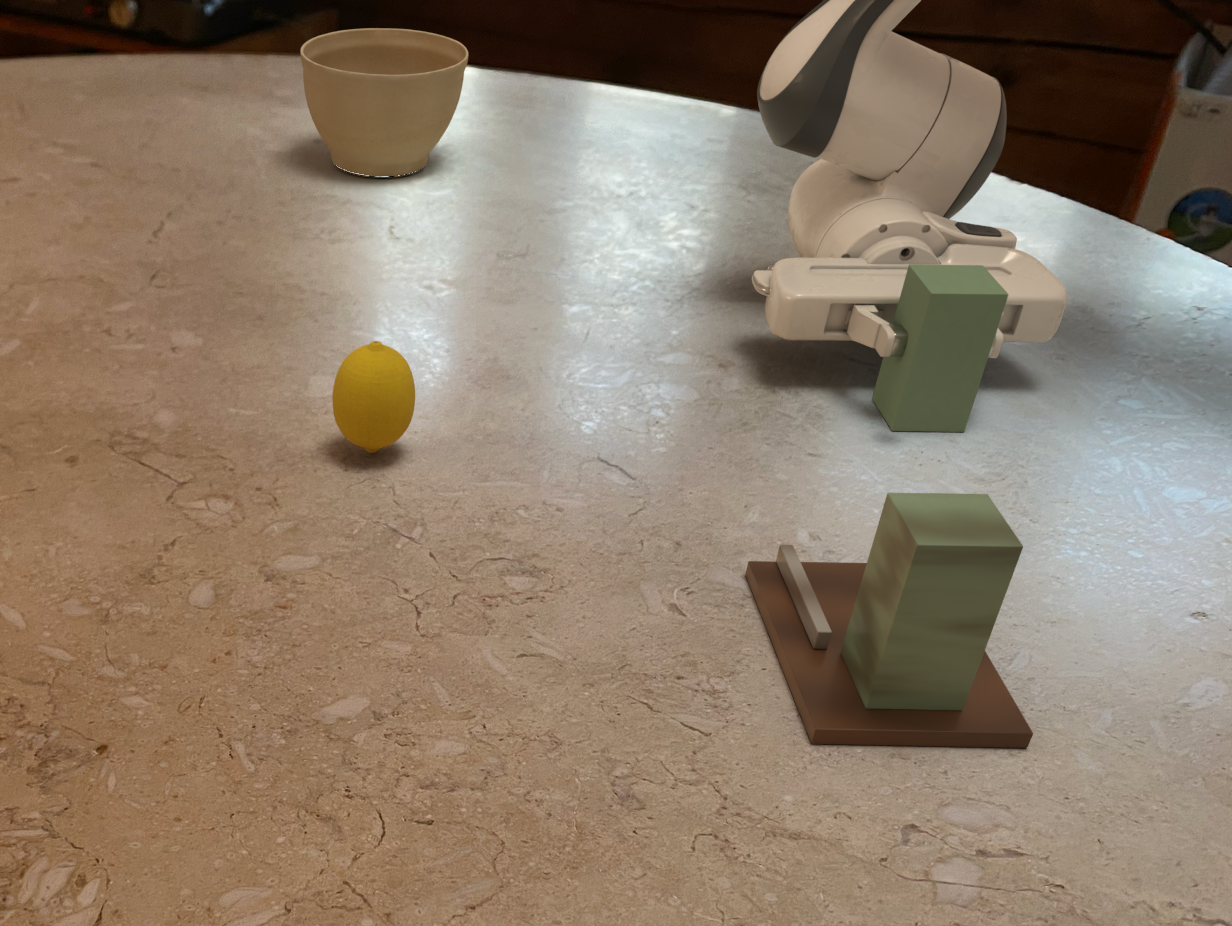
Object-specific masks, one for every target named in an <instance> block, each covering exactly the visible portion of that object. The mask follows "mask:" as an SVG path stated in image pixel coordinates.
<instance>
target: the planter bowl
mask: <svg viewBox="0 0 1232 926" xmlns="http://www.w3.org/2000/svg"><path fill="white" fill-rule="evenodd" d="M299 52H300V62H301V66H302V79H303V80H302V81H303V89H304V96H305V100H306V104H307V108H308V111H309V114H310V116H311V119H312V122H313V124H314V126H315V128H316V131H317V132H318V134H319V136H320V138H321V139H322V141H323V142H324V143H325V145H326V146H327V148H328V149H329V151H330V157H331V162H332V161H333V162H332V164H333V163H334V164H335V165H337V166H338V167H340V168H342V169H345V170H347V171H350V172H354V173H359V174H364V175H369V176H394V177H393V178H399V177H400V176H398V175H402V176H401V177H404V176H409V175H413V174H415V173H416V174H417V173H418V172H420V171H421V170H423V169H424V168H425V167H426V165H427V164H428V160H429V155H430V153H431V152H432V150H433V149H434V148H435V147H436V146H437V145H438V144H439V142H440V140H441V139H442V138H443V136H444V134H445V133H446V131H447V129H449V126H450V124H451V122H452V119H453V118H454V116H455V113H456V110H457V107H458V104H459V102H460V98H461V95H462V89H463V84H464V78H465V77H464V76H465V71H466V68H467V65H468V61H469V50H468V49H467V47H466V46H465V45H464V44H463V43H462V42H460V41H458V40H456V39H454V38H451V37H448V36H445V35H441V34H437V33H433V32H428V31H424V30H423V31H422V30H415V29H407V28H406V29H405V28H392V27H391V28H389V27H388V28H381V27H380V28H379V27H376V28H375V27H374V28H373V27H370V28H369V27H368V28H367V27H366V28H353V29H351V28H350V29H343V30H337V31H332V32H331V31H330V32H328V33H323V34H321V35H320V34H319V35H317V36H315V37H312V38H310V39H308V40H307V41H305V42H304V43H303V44H302V45H301V47H300V51H299ZM334 164H333V165H334ZM335 165H334V166H335ZM424 166H425V167H424ZM423 167H424V168H423ZM422 168H423V169H422ZM420 169H421V170H420ZM418 170H419V171H418ZM415 171H417V172H415ZM343 172H344V173H346V172H345V171H343ZM412 172H414V173H412ZM409 173H411V174H409ZM404 174H407V175H404ZM353 175H355V174H353ZM355 176H356V175H355ZM358 176H359V177H361V176H360V175H358ZM369 176H364V177H366V178H370V177H369ZM378 178H381V179H382V178H385V179H386V178H388V177H378Z"/></svg>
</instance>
